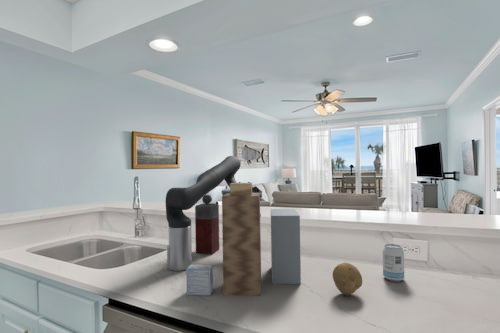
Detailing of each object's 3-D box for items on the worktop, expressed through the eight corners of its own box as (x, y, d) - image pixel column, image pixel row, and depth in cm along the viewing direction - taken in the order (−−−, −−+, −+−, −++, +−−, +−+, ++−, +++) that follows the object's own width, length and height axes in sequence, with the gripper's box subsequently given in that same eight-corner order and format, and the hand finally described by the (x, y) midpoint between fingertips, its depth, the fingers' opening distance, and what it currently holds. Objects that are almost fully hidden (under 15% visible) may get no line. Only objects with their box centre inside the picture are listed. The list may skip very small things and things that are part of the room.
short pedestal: (272, 283, 100) (271, 215, 101) (271, 267, 117) (270, 209, 117) (300, 283, 100) (299, 215, 100) (295, 267, 116) (295, 208, 116)
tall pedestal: (223, 295, 92) (222, 196, 92) (228, 280, 104) (227, 193, 104) (260, 295, 91) (258, 195, 91) (261, 280, 103) (259, 192, 103)
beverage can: (404, 277, 104) (403, 244, 104) (404, 284, 98) (403, 249, 98) (383, 274, 107) (383, 242, 108) (382, 280, 101) (382, 247, 101)
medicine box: (213, 290, 96) (213, 264, 96) (210, 296, 91) (209, 269, 91) (190, 289, 96) (190, 264, 96) (186, 295, 92) (185, 268, 92)
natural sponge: (348, 286, 97) (347, 257, 97) (369, 297, 89) (368, 265, 89) (327, 291, 93) (326, 261, 93) (347, 303, 85) (346, 270, 85)
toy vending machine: (221, 248, 146) (220, 193, 146) (212, 254, 136) (211, 196, 136) (205, 247, 149) (204, 193, 149) (195, 253, 138) (194, 195, 138)
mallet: (251, 195, 92) (251, 183, 93) (230, 195, 93) (229, 183, 93) (254, 190, 112) (253, 180, 112) (236, 190, 113) (236, 180, 113)
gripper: (231, 194, 124) (226, 175, 109) (263, 194, 124) (262, 175, 109) (230, 210, 121) (225, 193, 106) (263, 210, 120) (262, 193, 105)
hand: (244, 184), depth 107 cm, fingers closed on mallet, 3 cm apart
